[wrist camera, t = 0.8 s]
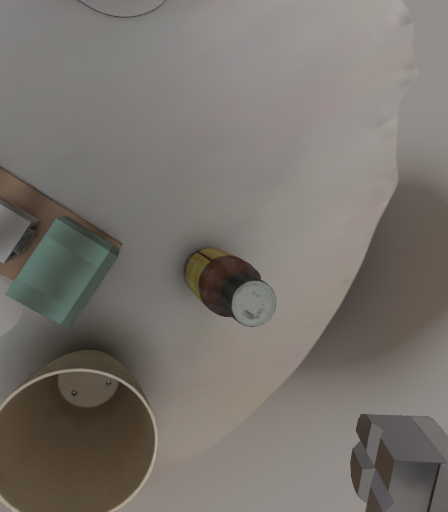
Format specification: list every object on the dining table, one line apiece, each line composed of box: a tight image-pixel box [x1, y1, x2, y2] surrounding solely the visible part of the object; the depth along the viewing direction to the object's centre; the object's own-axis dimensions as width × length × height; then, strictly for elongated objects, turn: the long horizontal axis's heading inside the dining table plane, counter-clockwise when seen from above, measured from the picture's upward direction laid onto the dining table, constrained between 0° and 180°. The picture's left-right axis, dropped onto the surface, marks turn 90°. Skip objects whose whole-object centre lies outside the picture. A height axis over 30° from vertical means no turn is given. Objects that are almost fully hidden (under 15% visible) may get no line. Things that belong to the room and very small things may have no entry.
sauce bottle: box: [185, 248, 276, 327], centre depth 45 cm, size 6×6×20 cm
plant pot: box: [0, 350, 158, 512], centre depth 46 cm, size 15×15×16 cm
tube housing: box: [0, 167, 122, 330], centre depth 45 cm, size 23×10×8 cm, turn 56°
